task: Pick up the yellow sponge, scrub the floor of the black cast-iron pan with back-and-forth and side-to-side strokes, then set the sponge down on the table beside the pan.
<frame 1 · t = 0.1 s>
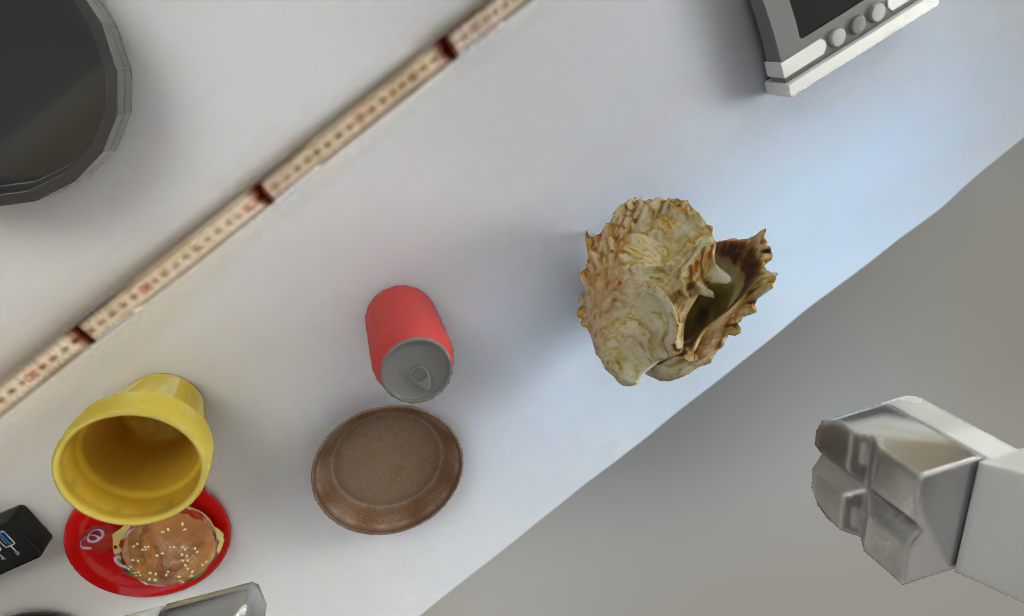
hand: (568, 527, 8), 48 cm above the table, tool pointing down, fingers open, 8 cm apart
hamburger: (152, 534, 58), on the table
flower pot: (164, 406, 55), on the table
beer can: (400, 315, 58), on the table
saucer: (387, 456, 63), on the table
seashell: (622, 261, 62), on the table
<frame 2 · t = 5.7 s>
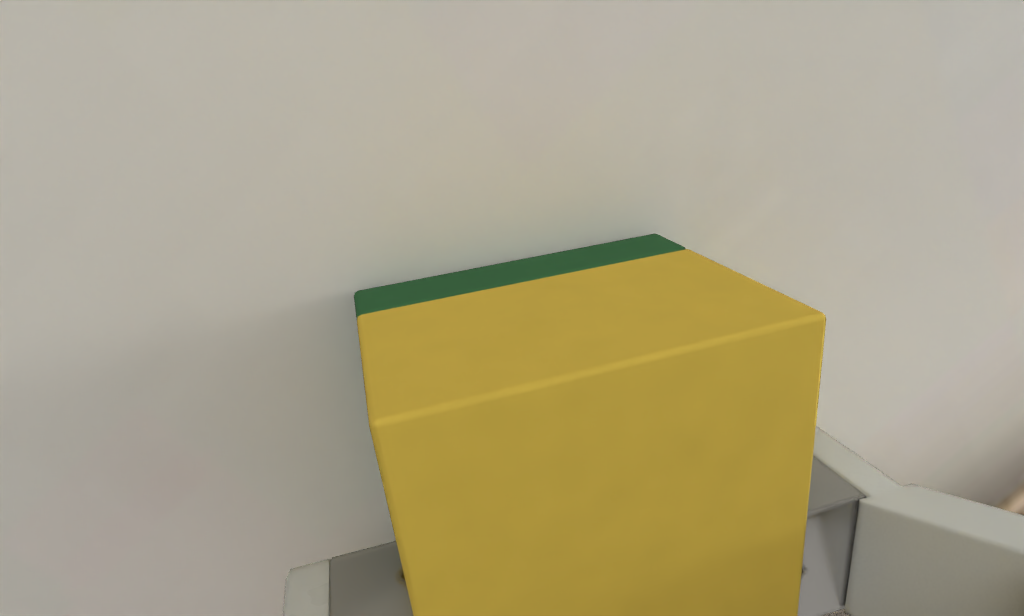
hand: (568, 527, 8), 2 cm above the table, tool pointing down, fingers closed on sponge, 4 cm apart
sponge: (536, 462, 10), on the table, touching gripper
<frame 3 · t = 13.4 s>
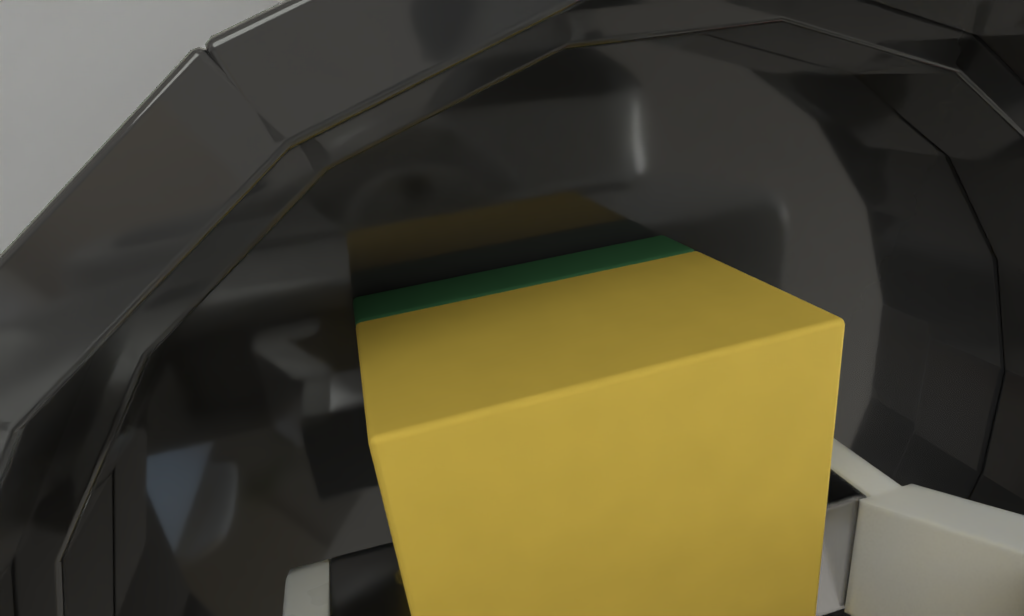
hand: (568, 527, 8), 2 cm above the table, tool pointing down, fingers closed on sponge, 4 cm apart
pan: (619, 511, 11), on the table
sponge: (541, 470, 10), point 1 cm above the table, touching gripper
when the fingers open (1 cm above the table, at t = 21.4 s): sponge stays where it is, on the table.
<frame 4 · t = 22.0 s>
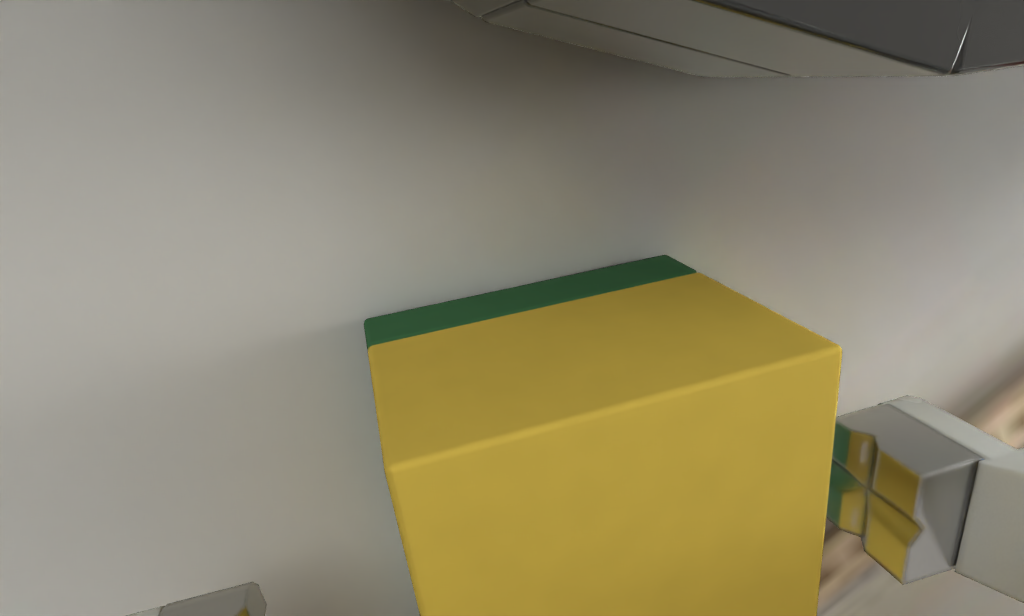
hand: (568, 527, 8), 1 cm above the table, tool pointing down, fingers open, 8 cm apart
sponge: (547, 483, 10), on the table
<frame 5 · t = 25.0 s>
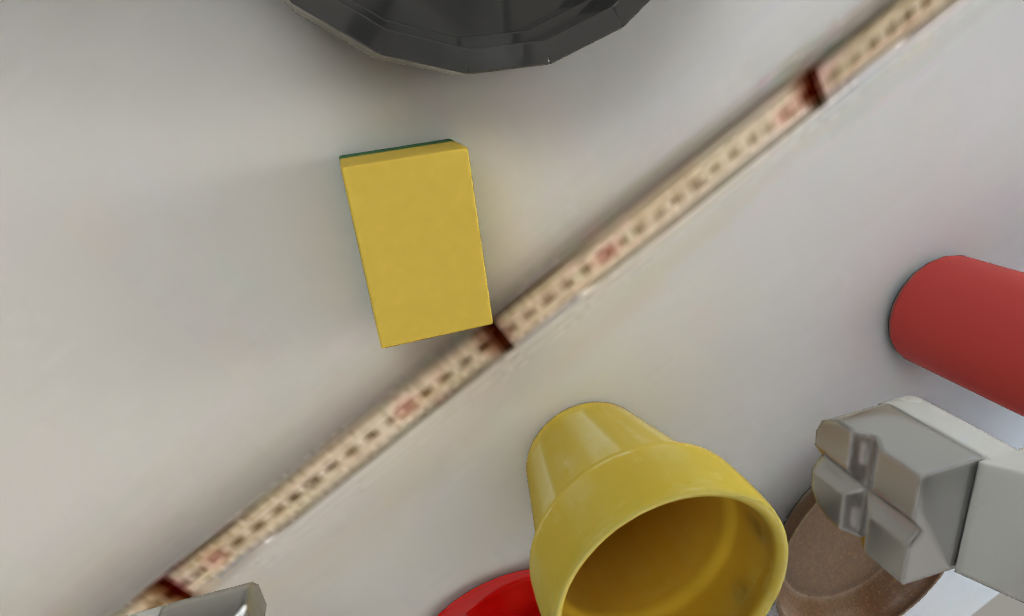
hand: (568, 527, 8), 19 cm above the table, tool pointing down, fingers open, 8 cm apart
flower pot: (581, 454, 33), on the table
beer can: (925, 305, 36), on the table
saucer: (842, 523, 41), on the table
sponge: (411, 230, 26), on the table
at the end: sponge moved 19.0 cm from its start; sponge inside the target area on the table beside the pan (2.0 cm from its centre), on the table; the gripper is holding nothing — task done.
